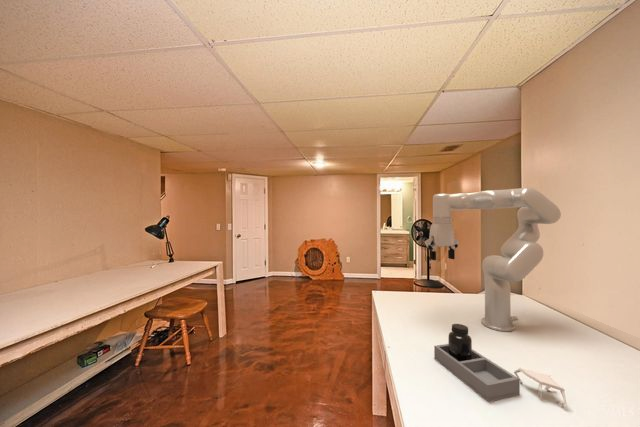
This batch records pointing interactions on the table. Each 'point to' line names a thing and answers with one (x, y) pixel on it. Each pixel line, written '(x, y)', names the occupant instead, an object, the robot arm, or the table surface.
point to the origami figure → (542, 382)
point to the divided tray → (480, 374)
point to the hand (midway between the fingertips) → (442, 259)
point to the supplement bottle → (460, 343)
